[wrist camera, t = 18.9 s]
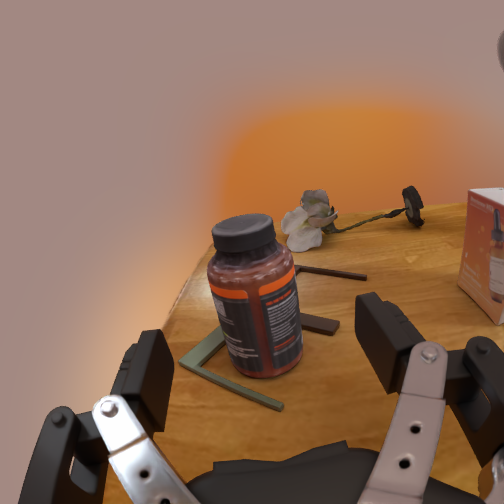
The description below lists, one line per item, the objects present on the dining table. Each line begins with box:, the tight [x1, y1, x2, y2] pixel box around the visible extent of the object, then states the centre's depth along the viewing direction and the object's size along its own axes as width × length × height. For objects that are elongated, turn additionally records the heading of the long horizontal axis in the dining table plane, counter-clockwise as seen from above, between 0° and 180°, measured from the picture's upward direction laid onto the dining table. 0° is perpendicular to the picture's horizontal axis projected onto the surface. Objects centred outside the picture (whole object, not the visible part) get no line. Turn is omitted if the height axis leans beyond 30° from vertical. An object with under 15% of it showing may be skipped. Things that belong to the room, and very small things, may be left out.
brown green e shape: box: [178, 265, 367, 411], centre depth 27 cm, size 19×10×1 cm, turn 145°
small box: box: [457, 188, 504, 325], centre depth 20 cm, size 8×6×10 cm
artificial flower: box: [281, 186, 425, 252], centre depth 41 cm, size 9×22×10 cm, turn 87°
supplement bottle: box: [207, 214, 303, 378], centre depth 21 cm, size 6×6×11 cm
